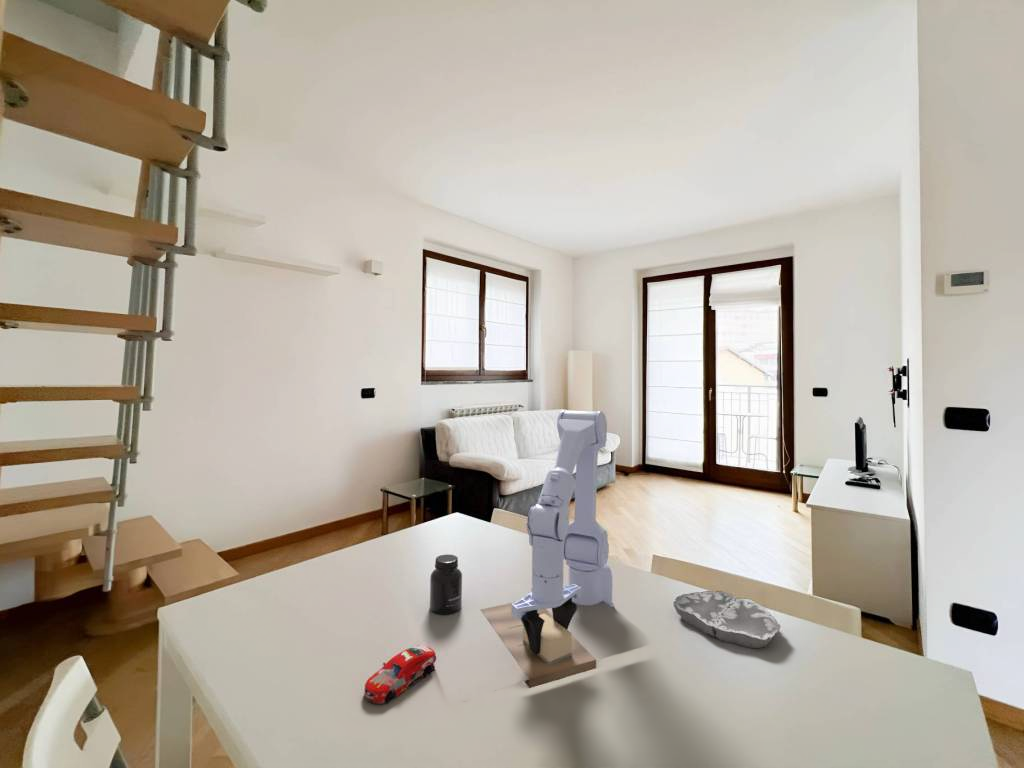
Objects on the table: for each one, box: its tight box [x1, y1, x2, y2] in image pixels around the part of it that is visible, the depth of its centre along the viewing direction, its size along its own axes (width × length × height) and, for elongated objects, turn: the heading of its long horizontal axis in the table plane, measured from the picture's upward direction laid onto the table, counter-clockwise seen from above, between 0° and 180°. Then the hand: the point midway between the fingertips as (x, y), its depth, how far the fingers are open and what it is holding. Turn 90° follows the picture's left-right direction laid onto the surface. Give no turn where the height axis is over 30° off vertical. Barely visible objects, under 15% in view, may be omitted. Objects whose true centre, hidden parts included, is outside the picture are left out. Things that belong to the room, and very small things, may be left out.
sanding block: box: [523, 613, 573, 665], centre depth 80 cm, size 5×8×4 cm, turn 33°
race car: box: [364, 644, 437, 705], centre depth 74 cm, size 13×5×4 cm, turn 142°
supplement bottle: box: [429, 554, 463, 616], centre depth 95 cm, size 7×7×12 cm
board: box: [480, 602, 597, 689], centre depth 86 cm, size 24×13×2 cm, turn 24°
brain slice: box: [673, 590, 781, 649], centre depth 92 cm, size 20×17×3 cm
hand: (547, 645), depth 80 cm, fingers closed on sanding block, 5 cm apart
